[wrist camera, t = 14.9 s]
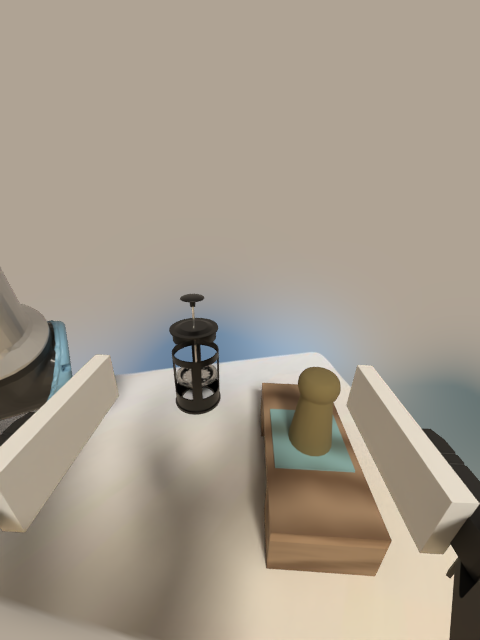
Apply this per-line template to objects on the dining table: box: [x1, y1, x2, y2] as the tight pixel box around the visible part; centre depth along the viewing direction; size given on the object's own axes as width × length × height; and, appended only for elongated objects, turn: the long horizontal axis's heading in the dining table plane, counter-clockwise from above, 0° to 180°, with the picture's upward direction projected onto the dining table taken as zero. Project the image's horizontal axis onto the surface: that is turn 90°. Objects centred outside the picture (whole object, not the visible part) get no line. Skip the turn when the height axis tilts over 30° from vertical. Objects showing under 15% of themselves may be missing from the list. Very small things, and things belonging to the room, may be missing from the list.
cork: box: [288, 367, 340, 457], centre depth 33 cm, size 6×6×11 cm
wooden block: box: [261, 383, 391, 576], centre depth 37 cm, size 24×12×7 cm, turn 177°
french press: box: [169, 294, 220, 414], centre depth 49 cm, size 12×9×23 cm
